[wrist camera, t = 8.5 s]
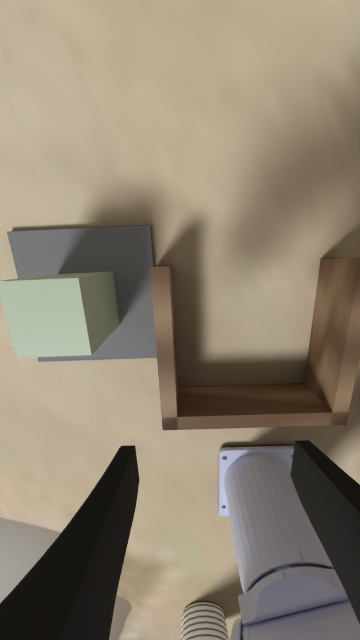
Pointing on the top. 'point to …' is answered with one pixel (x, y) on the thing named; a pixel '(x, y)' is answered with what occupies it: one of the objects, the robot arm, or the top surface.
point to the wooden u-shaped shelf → (276, 399)
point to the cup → (203, 622)
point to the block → (60, 313)
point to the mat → (99, 256)
